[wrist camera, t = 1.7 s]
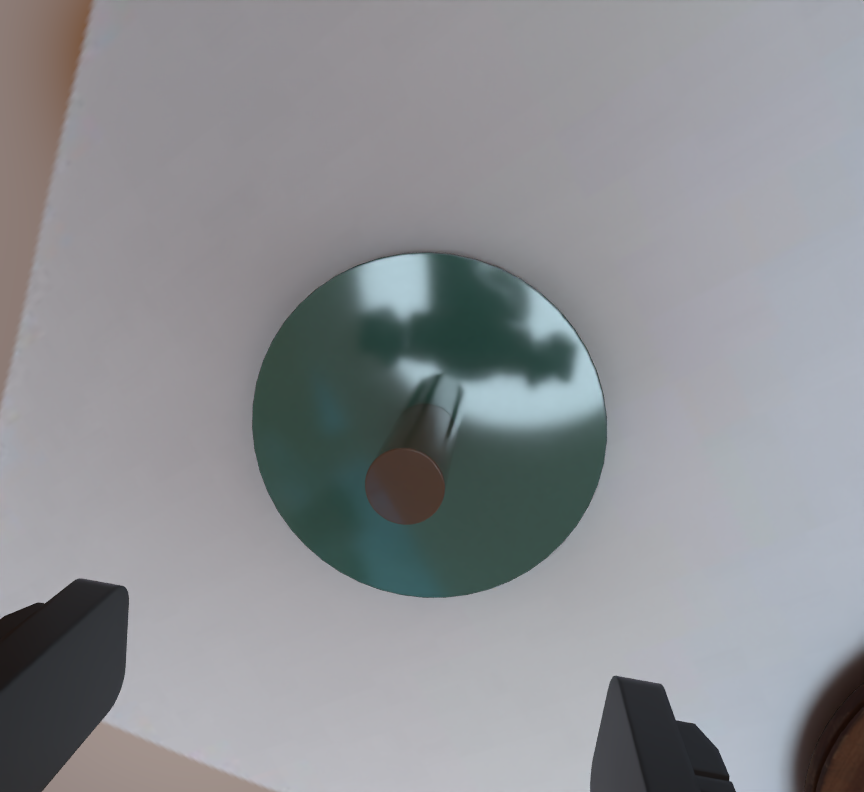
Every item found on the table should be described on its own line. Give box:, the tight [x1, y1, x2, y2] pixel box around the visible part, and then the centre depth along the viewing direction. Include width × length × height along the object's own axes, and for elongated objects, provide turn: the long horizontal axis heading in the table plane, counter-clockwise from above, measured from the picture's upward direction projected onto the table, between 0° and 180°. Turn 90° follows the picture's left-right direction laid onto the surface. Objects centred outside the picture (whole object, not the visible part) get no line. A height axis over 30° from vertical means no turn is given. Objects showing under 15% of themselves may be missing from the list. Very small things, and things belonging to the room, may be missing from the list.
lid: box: [252, 252, 607, 598], centre depth 25 cm, size 13×13×7 cm
